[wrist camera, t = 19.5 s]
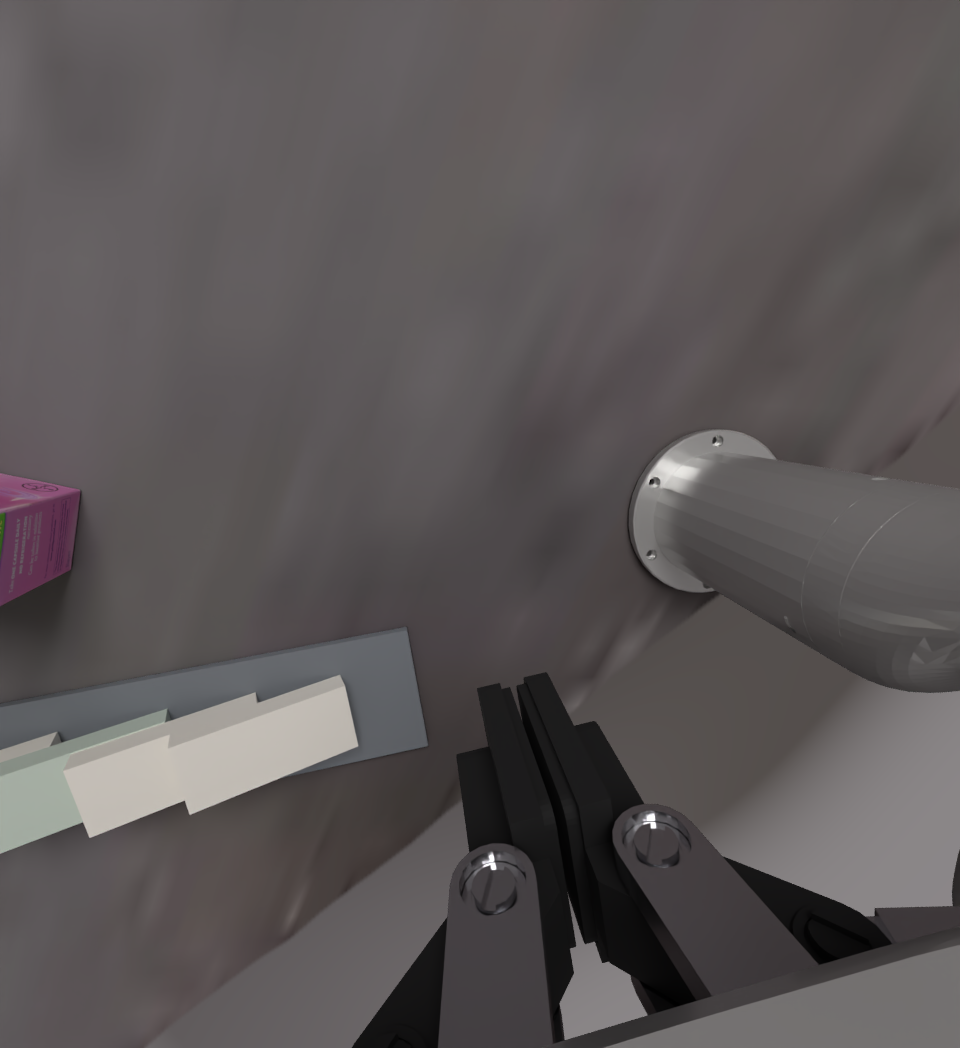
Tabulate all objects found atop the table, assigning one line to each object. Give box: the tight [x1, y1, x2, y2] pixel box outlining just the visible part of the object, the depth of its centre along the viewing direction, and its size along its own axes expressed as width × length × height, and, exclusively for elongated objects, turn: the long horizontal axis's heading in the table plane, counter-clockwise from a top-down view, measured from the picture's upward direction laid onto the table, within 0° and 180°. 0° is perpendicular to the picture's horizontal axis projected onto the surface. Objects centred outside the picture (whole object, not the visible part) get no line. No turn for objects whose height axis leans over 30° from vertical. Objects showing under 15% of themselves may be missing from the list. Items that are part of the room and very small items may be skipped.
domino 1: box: [0, 709, 171, 854], centre depth 34 cm, size 2×5×11 cm
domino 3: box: [168, 675, 358, 815], centre depth 35 cm, size 2×5×11 cm
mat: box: [0, 627, 428, 778], centre depth 37 cm, size 32×10×1 cm, turn 98°
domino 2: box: [63, 692, 258, 838], centre depth 35 cm, size 2×5×11 cm
